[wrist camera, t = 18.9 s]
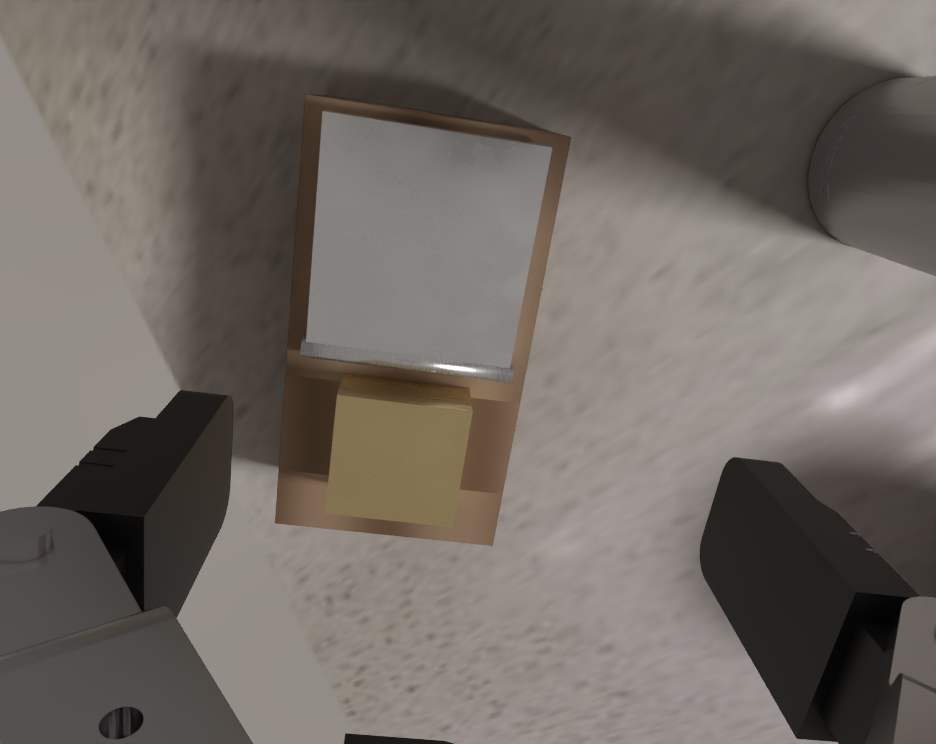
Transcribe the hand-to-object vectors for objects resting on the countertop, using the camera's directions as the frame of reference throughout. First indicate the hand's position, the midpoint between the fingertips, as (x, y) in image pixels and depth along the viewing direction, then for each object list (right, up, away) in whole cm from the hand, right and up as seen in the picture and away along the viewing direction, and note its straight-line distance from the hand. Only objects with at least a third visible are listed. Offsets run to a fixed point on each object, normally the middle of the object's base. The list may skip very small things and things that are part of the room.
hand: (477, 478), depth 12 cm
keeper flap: (-2, +7, +23) cm, 24 cm away
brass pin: (-4, 0, +31) cm, 32 cm away
